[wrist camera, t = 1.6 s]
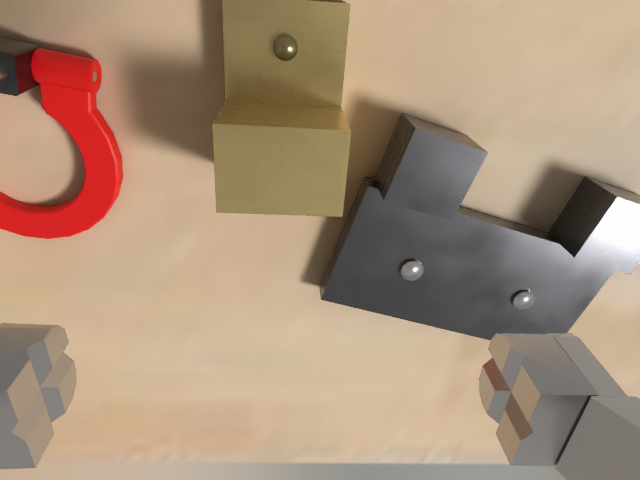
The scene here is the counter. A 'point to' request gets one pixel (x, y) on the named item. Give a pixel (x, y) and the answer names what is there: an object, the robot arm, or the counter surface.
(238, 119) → the loose leaf
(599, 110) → the counter surface
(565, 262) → the fixed leaf
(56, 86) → the tow hook
